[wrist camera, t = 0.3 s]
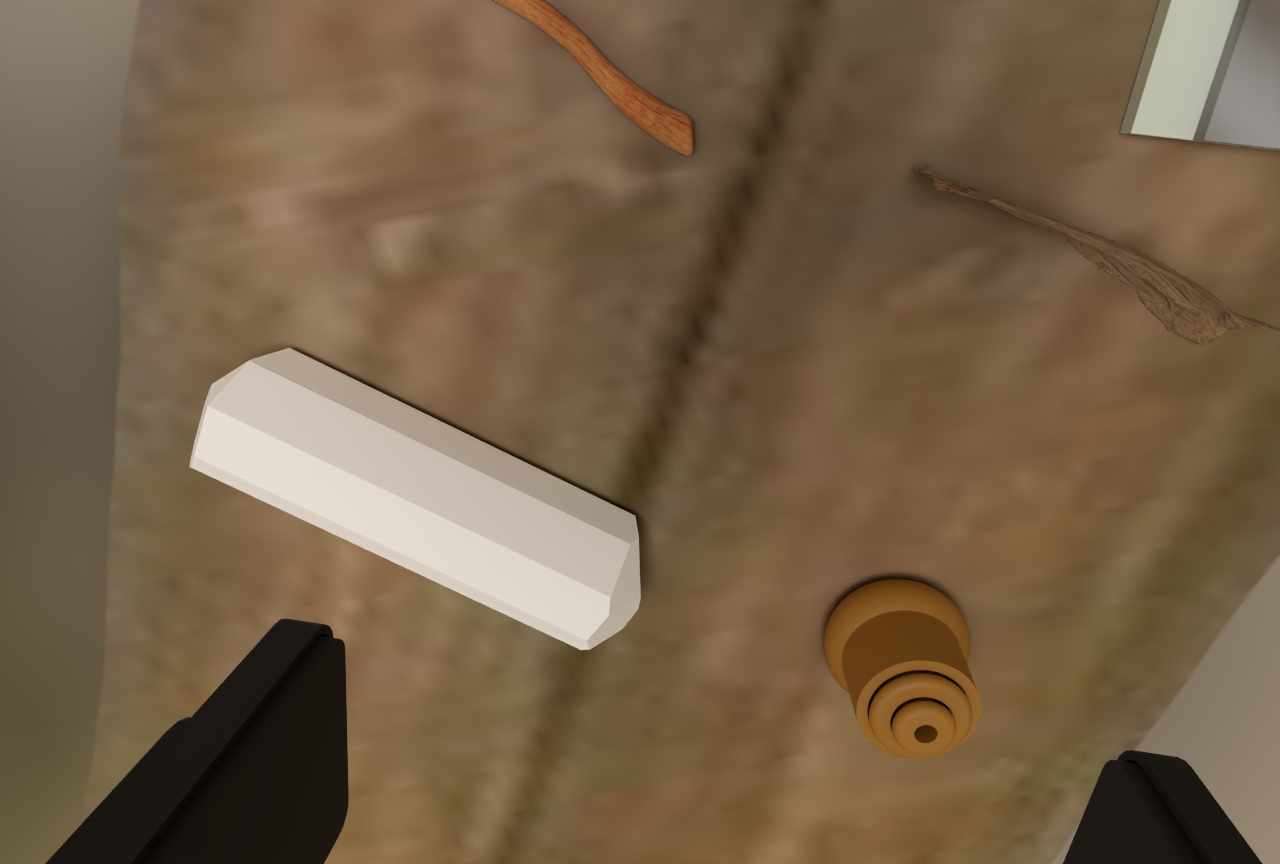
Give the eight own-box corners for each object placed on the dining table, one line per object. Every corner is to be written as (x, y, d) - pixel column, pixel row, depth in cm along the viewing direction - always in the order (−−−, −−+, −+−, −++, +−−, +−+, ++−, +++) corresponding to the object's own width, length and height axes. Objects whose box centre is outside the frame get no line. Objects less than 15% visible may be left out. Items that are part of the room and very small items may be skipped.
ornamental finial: (990, 606, 43) (915, 707, 45) (865, 549, 42) (796, 654, 45) (1046, 707, 35) (953, 821, 38) (895, 639, 35) (811, 759, 38)
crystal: (686, 535, 39) (220, 309, 37) (622, 675, 38) (138, 449, 36) (661, 532, 46) (271, 343, 44) (607, 649, 45) (204, 460, 43)
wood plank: (895, 199, 36) (920, 210, 31) (919, 154, 35) (949, 158, 31) (1192, 342, 37) (1260, 373, 32) (1222, 301, 36) (1296, 327, 32)
